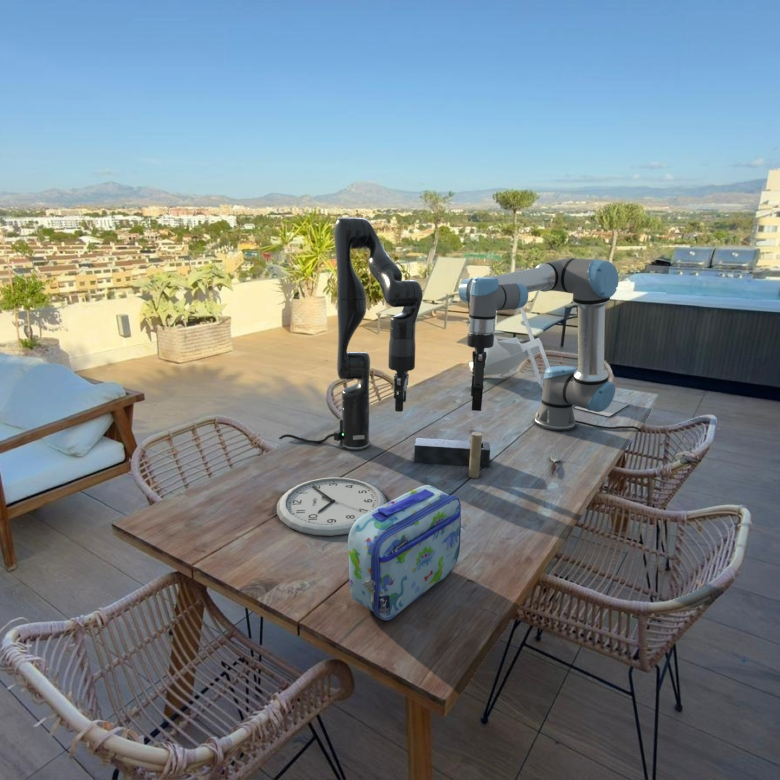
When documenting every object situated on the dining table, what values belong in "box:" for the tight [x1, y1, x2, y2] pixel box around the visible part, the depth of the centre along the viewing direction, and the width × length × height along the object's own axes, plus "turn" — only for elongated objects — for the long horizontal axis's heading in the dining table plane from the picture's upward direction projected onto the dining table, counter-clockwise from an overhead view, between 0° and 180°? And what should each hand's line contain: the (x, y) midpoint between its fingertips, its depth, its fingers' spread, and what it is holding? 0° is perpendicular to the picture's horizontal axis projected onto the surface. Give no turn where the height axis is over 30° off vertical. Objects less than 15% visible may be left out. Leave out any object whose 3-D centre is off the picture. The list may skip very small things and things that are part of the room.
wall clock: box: [276, 476, 388, 537], centre depth 142 cm, size 30×2×30 cm
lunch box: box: [347, 484, 462, 621], centre depth 107 cm, size 26×11×21 cm, turn 134°
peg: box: [468, 431, 483, 479], centre depth 159 cm, size 3×3×14 cm
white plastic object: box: [468, 307, 551, 390], centre depth 259 cm, size 37×45×31 cm
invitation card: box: [573, 400, 629, 418], centre depth 226 cm, size 21×1×15 cm
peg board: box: [413, 437, 491, 468], centre depth 171 cm, size 24×6×6 cm, turn 83°
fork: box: [550, 450, 560, 475], centre depth 169 cm, size 3×16×2 cm, turn 160°
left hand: (400, 406), depth 153 cm, fingers open, 8 cm apart
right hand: (475, 403), depth 156 cm, fingers open, 13 cm apart
